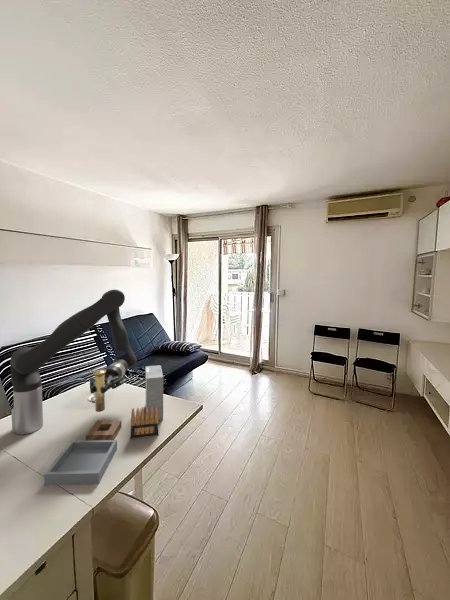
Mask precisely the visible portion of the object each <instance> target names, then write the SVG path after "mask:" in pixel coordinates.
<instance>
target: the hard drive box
mask: <svg viewBox="0 0 450 600" xmlns="http://www.w3.org/2000/svg"><path fill="white" fill-rule="evenodd" d="M151 406H152V407H153V415H154V413H155V407H156V406H157V409H158V421H159V420H163V419H164V373H163V370H162V365H160V364H159V365H157V364H156V365H148V366H147V365H146V366H145V408H146V407H148V410H149V420H150V409H151Z"/></svg>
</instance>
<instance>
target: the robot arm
mask: <svg viewBox="0 0 450 600" xmlns="http://www.w3.org/2000/svg"><path fill="white" fill-rule="evenodd" d="M125 298H126V296H125V294H124V292H123V291H121V290H119V289H109V290H108V291H105V293H103V294H102V295H101V298H100V299H98V300H97V301H96V302H95V303H93V304H91V305H90V306H88V307H85V308H83V309H81V310H80V311H78V312H76V313H75V314H73V315H72V316H70V317H68V318H67V319H65V320H64V321H62V322H61V323H60V324H59V325H58V326H57V327H56V328H55V329H54V330H53V332H52V333H51V334H50V335H49V336H47V338H46V339H45V340H43V341H41V342H40V343H39V344H37V345H35V346H34V347H26V346H24V347H20V348H18V349H16V350H15V351H14V352H13V353H12V355H11V357H10V361H9V362H10V363H9V365H10V378H11V385H12V392H13V394H12V395H13V407H12V408H11V411H10V413H11V429H12V433H15V434H17V435H26V434H31V433H35V432H36V431H39V430H40V429H41V428H42V427H43V426H44V413H43V411H44V410H43V385H42V384H43V383H42V377H41V375H40V374H41V373H40V369H41V368H42V367H43V366H44V365H45V364H47V362H49V360H51V359H52V358H53V357H54V356H55V355H56V354H58V353H59V352H60V351H62V350H63V349H64V348H66V347H68V345H70V344H71V343H73V342H74V341H75V340H77V339H78V338H80V337H81V336H82V335H83V334H85V333H87V331H89V330H90V329H91V328H92V327H94V326H95V325H96V324H97V323H98V322H99V321H100V320H101V319H102V318H104V317H105V316H106V318H107V320H108V323H109V327H110V332H111V336H112V341H113V345H114V349H115V351H117V352H118V351H119V352H121V351H122V352H124V354H120V355H117V356H115V357H114V359H113V362H112V363H111V364H110V365H109V366H108V367H106V368H105V369H104V370H106V373H105V374H104V386H103V387H102V389H101V393H105V394H106V392H107V391H108V390H111V389H117V388H118V387H121V386H123V385H124V384H125V382H124V381H125V378H124V377H123V376H124V375H125V374H126V372H127V371H128V369H131V368H134V367H135V366H136V365H137V363H138V361H137V360H138V359H137V356H136V354H135V352H134V350H133V348H132V346H131V343H130V339H129V335H128V331H127V329H126V327H125V324H124V322H123V319H122V317H121V313H120V308H121V307H122V305H124V303H125ZM89 392H90V394H93V393H94V392H95V377H93V376H91V377H89Z"/></svg>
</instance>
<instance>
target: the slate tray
mask: <svg viewBox="0 0 450 600" xmlns="http://www.w3.org/2000/svg"><path fill="white" fill-rule="evenodd" d="M117 450H118V440H117V439H114V440H87V441H86V440H71V441H70V442H69V444H68V445H67V446H66V447H65V448H64V450H63V451H62V452H61V453H60V454H59V455H58V457H56V459H55V460H54V462H53V463H52V464H51V465H50V466H49V467H48V469H47V470H46V471H45V472H44V473H43V485H44V486H66V485H69V486H70V485H99V484H100V483H101V480H102V479H103V477H104V475H105V473H106V471H107V469H108V467H109V466H110V463H111V462H112V460H113V458H114V456H115V454H116V452H117Z"/></svg>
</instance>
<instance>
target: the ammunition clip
mask: <svg viewBox="0 0 450 600" xmlns="http://www.w3.org/2000/svg"><path fill="white" fill-rule="evenodd" d="M140 409H141V410H140ZM140 409H139V407H137V408H136V412H135V409H134V407H132V408H131V413H130V414H131V415H130V416H131V417H130V437H129V438H130V439H138V438H147V437H156V436H159V420H158V409H157V406H156V407H155V413H154V415H153V407H152V406H151V409H150V420H149V410H148V407H146V406H145V409H144V407H143V406H141V408H140ZM135 414H136V415H135Z"/></svg>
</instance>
